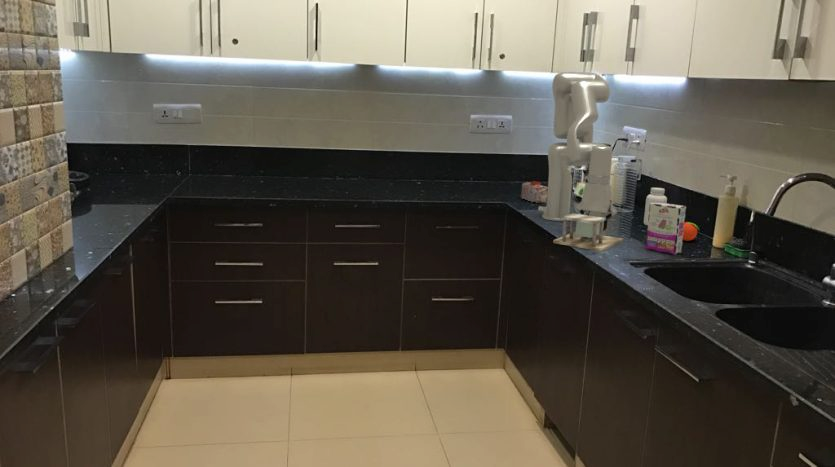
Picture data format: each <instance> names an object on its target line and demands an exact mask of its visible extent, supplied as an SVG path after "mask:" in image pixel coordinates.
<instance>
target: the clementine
mask: <svg viewBox="0 0 835 467" xmlns="http://www.w3.org/2000/svg"><path fill="white" fill-rule="evenodd" d="M698 230H700V228H699V227H698V225H696V223H693V222H690V221H686V222H685V223H684V232H683V241H685V242H688V241H689V242H690V241H692V240H694V239H695V238H696V237H697V235H698Z"/></svg>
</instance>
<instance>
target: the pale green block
mask: <svg viewBox="0 0 835 467" xmlns="http://www.w3.org/2000/svg"><path fill="white" fill-rule="evenodd" d="M575 225H576V226H575V232H576V236H582V237H588V238H591V237H592V236H593V224H591V223H584V222H578V221H576V224H575ZM605 231H606V230H605ZM605 231H603V233H605ZM599 232H600V223H598V224H597V231H596V235H599Z"/></svg>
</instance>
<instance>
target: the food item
mask: <svg viewBox="0 0 835 467" xmlns="http://www.w3.org/2000/svg"><path fill="white" fill-rule="evenodd" d="M541 184H542V183H541V182H540V181H538V180H537V181H536V180H533V181H531V182H528V181H527V182H524V183H523V182H522V184H521V192H520V199H521V198H522V199H525V200H528V201H531V202H530V203H533V202H536V203H535V204H537V203H541V204H547V195H548V186H545V185H541ZM522 199H521V200H522ZM525 200H524V201H525ZM528 201H527V202H528Z"/></svg>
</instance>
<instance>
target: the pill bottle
mask: <svg viewBox="0 0 835 467" xmlns="http://www.w3.org/2000/svg"><path fill="white" fill-rule="evenodd" d="M665 191H666V190H665V188H663V187H650V192H649V193H650V194H648V195H647V196H646V199H645V207H644V217H643V224H644V225H646V226H648V218H649V207H650V203H653V202H660V203H667V204H668V197H667V196H666V195H665Z"/></svg>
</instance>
